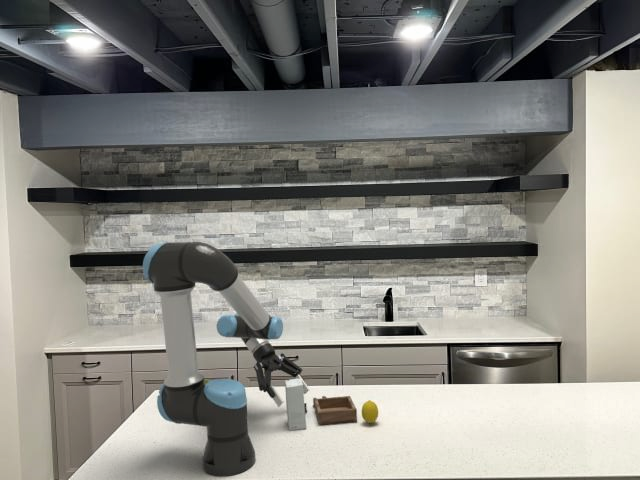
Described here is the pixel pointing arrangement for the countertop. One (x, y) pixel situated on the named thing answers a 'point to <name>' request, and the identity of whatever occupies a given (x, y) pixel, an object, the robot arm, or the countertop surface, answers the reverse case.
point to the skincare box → (295, 404)
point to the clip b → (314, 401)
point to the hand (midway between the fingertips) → (294, 398)
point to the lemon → (369, 411)
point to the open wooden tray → (335, 410)
